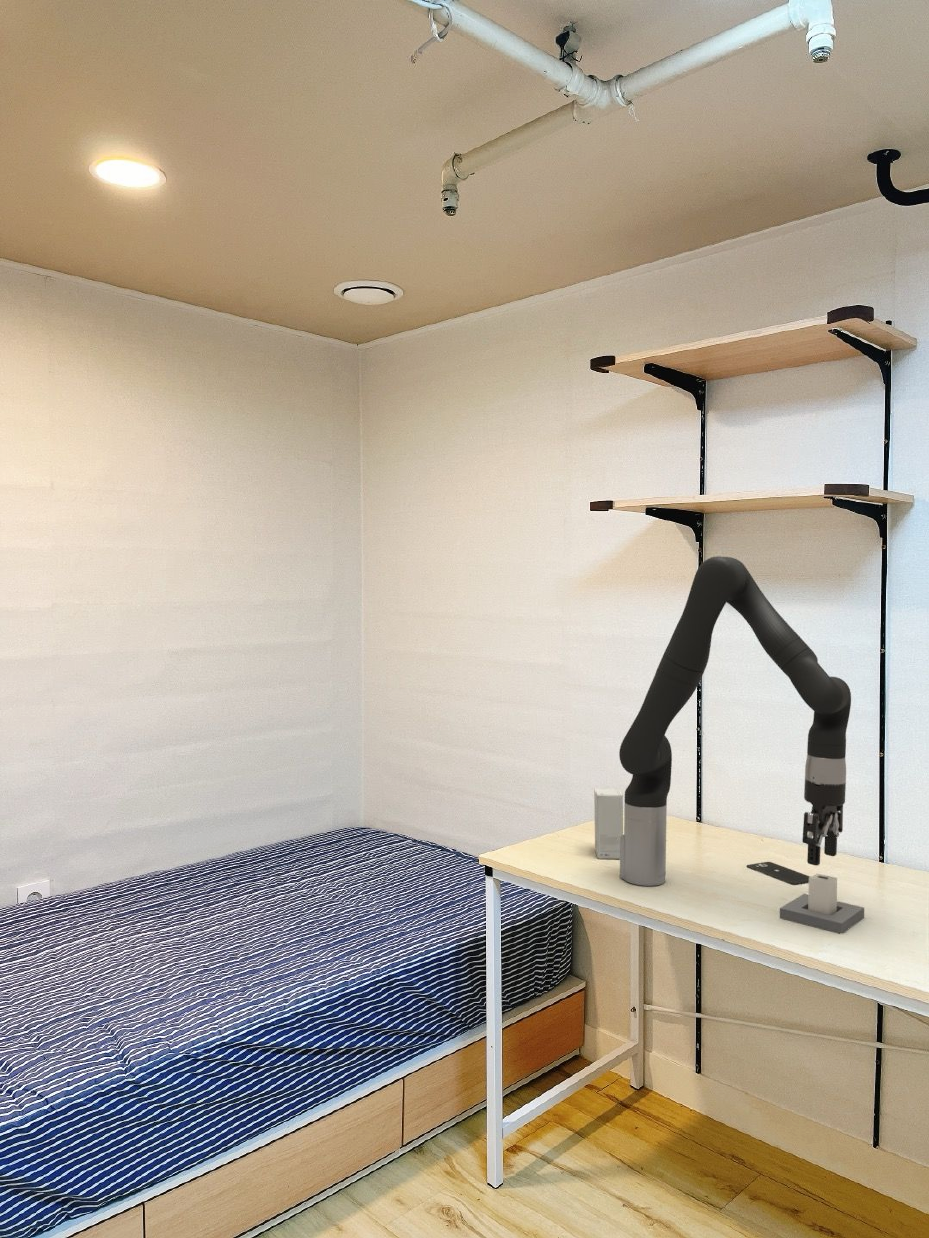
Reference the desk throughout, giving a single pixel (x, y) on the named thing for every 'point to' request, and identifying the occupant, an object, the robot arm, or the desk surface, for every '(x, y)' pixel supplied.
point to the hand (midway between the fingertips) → (822, 859)
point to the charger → (822, 894)
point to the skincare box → (608, 822)
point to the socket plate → (822, 915)
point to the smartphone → (780, 873)
